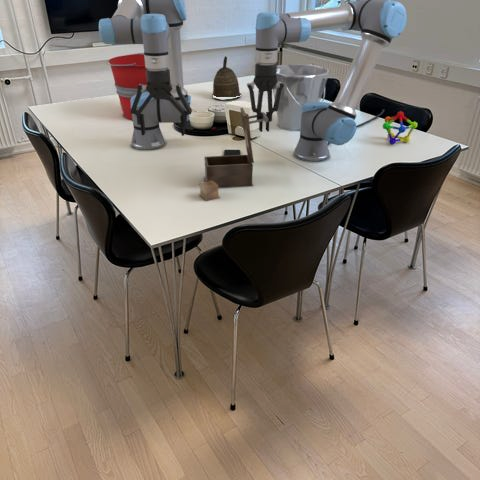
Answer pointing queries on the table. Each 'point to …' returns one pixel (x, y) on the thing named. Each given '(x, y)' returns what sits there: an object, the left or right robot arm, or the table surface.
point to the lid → (246, 130)
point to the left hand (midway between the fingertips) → (163, 134)
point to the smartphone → (231, 152)
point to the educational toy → (398, 128)
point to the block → (209, 190)
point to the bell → (225, 82)
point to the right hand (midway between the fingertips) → (264, 130)
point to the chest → (229, 170)
